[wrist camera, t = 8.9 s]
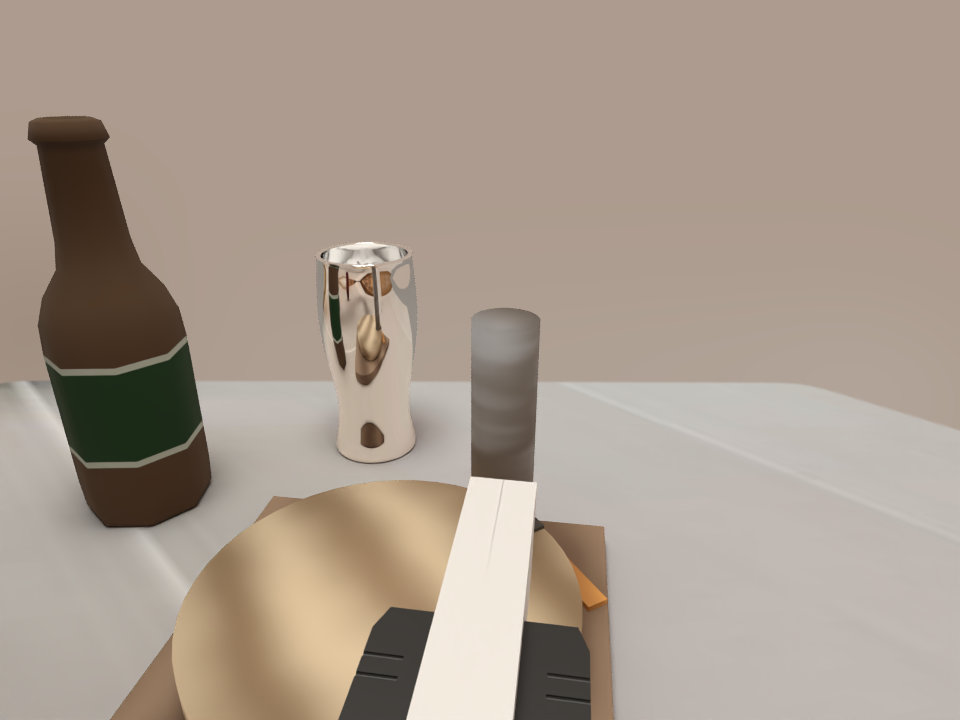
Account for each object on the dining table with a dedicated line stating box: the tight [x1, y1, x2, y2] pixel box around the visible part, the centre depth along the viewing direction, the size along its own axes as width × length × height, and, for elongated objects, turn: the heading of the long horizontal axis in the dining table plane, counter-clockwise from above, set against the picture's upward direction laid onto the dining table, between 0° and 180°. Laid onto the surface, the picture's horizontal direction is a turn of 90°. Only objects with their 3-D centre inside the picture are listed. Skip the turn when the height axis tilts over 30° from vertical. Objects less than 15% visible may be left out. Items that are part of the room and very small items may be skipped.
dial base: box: [110, 496, 614, 720], centre depth 32 cm, size 21×21×2 cm
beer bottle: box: [28, 116, 211, 527], centre depth 40 cm, size 8×8×24 cm
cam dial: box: [172, 308, 582, 720], centre depth 28 cm, size 18×18×15 cm
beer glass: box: [316, 242, 417, 463], centre depth 48 cm, size 7×7×15 cm
